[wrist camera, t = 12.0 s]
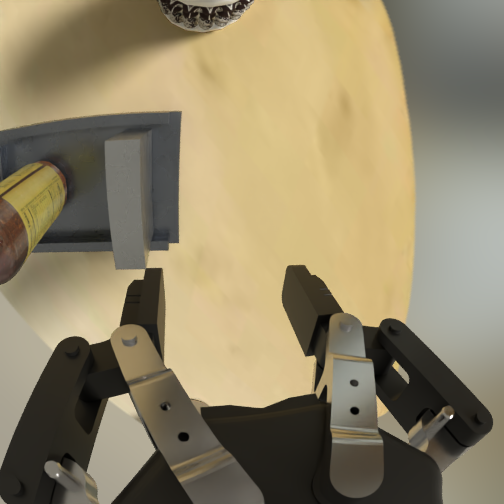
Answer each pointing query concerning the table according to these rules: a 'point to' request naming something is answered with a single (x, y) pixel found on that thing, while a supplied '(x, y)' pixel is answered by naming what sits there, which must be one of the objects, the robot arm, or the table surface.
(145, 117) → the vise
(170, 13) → the decorative candle
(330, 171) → the table surface
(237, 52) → the table surface
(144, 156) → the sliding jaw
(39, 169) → the sauce bottle
